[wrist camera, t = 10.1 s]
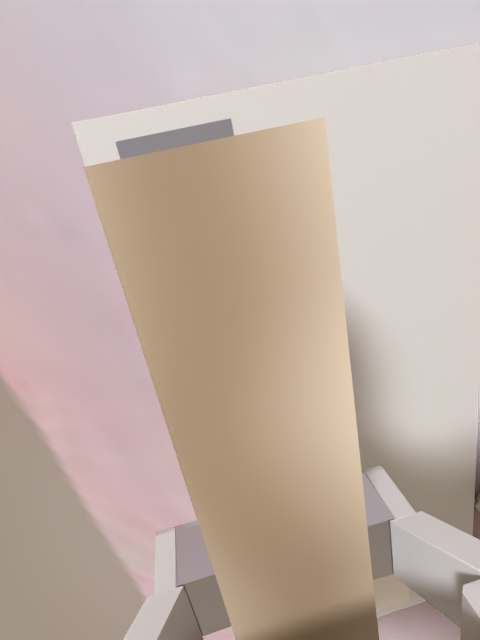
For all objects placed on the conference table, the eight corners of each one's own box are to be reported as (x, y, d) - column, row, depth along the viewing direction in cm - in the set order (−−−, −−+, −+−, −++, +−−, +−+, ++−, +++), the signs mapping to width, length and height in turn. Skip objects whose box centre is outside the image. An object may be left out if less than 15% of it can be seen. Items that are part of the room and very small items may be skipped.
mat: (489, 41, 18) (496, 38, 18) (466, 582, 33) (470, 587, 32) (73, 123, 17) (70, 122, 16) (243, 654, 31) (244, 661, 31)
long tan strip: (256, 140, 9) (324, 117, 5) (339, 642, 15) (394, 792, 12) (118, 168, 8) (83, 167, 5) (264, 668, 15) (297, 829, 11)
